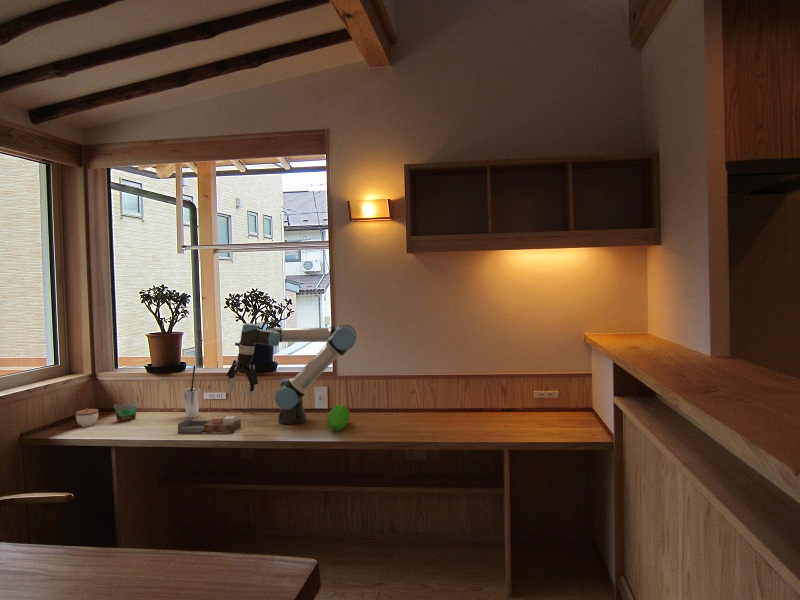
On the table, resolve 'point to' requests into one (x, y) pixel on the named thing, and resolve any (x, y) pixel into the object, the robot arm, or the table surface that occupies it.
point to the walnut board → (222, 427)
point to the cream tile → (229, 419)
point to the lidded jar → (87, 417)
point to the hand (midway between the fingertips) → (239, 393)
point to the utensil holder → (192, 399)
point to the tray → (191, 426)
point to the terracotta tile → (217, 419)
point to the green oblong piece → (338, 418)
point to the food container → (125, 411)
